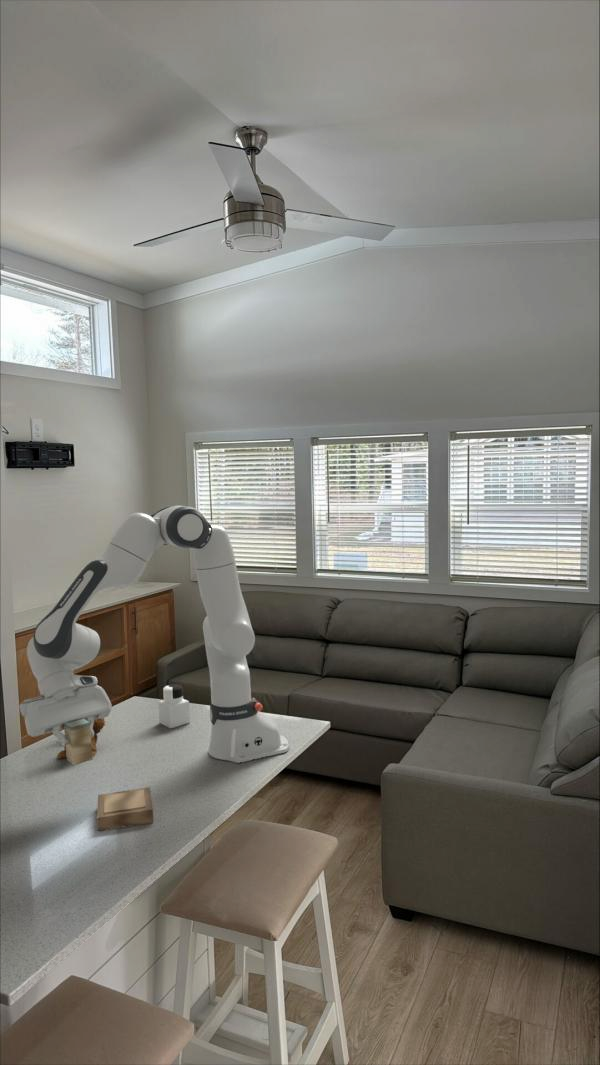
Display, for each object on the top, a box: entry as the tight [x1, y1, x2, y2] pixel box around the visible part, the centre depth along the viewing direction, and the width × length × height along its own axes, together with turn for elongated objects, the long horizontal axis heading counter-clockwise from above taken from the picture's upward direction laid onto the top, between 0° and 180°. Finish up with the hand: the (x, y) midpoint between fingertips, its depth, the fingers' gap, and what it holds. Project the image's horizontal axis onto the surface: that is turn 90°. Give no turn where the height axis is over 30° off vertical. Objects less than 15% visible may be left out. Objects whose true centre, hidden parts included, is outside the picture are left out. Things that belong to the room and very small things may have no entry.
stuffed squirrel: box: [56, 717, 106, 759], centre depth 202 cm, size 10×14×13 cm
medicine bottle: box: [158, 683, 191, 729], centre depth 222 cm, size 7×7×12 cm
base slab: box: [96, 786, 154, 832], centre depth 163 cm, size 12×12×3 cm
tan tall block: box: [63, 718, 93, 766], centre depth 168 cm, size 5×5×9 cm
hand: (79, 740), depth 167 cm, fingers closed on tan tall block, 4 cm apart
